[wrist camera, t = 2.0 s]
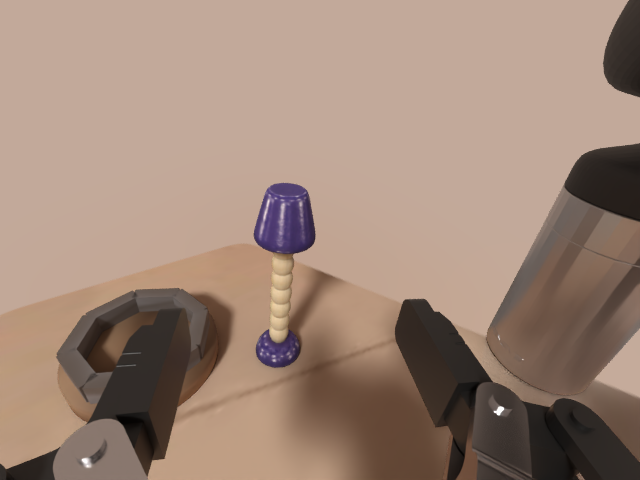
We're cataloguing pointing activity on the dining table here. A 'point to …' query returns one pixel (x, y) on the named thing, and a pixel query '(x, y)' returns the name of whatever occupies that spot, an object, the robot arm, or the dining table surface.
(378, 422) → the dining table surface
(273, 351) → the toy lamp
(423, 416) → the dining table surface
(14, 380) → the dining table surface
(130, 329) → the plinth
